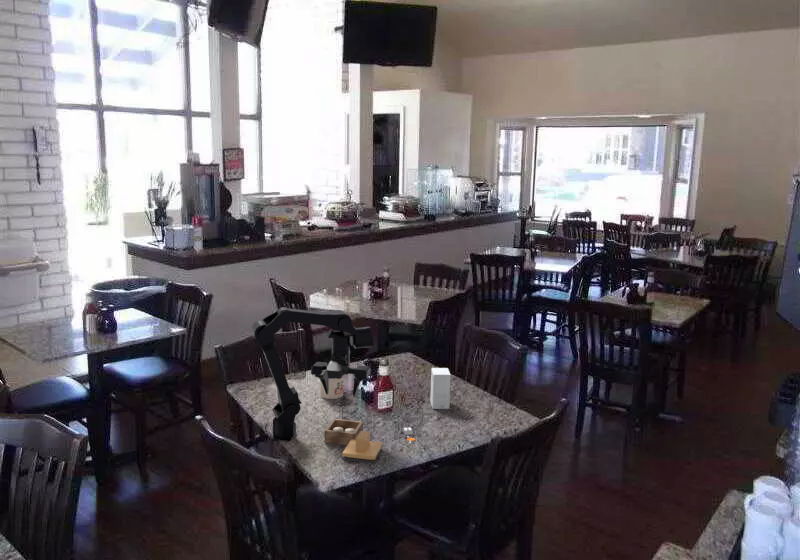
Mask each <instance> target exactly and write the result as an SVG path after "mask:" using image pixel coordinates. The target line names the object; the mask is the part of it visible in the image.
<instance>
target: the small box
mask: <svg viewBox="0 0 800 560" xmlns="http://www.w3.org/2000/svg"><path fill="white" fill-rule="evenodd" d="M430 371H431V372H430V374H431V375H430V376H431V377H430V404H431V409H433V410H449V409H450V405H451V404H450V403H451V399H450V397H451V376H452V374H451V373H450V369H449V368H448V367H431V370H430Z"/></svg>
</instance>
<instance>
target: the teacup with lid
mask: <svg viewBox="0 0 800 560" xmlns="http://www.w3.org/2000/svg"><path fill="white" fill-rule="evenodd" d="M319 380H320V379H319ZM319 385H320V387H319V388H320V389H319V390H320V394H319V396H320V397H321V398H323V399H327V400H337V399H340V398H342V397H343V396H344V375H343V376H342V378H341V379H337V378H329V391H328V394H326V392H325V390H324V387H323V384H322V382H321V380H320V382H319Z"/></svg>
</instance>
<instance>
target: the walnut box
mask: <svg viewBox="0 0 800 560" xmlns="http://www.w3.org/2000/svg"><path fill="white" fill-rule="evenodd" d="M360 431H364V421H360V420H351V419H339V418H333V419H332V421H331V422H330V423H329V424H328V426H327V427H326V428H325V430H324V443H325V444H335V445H343V446H344V445H345V446H347V445H348V444H349V442H350V441H351V439H354V440H356V437H357V436H358V434H359V433H360Z"/></svg>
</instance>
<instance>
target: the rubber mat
mask: <svg viewBox="0 0 800 560" xmlns="http://www.w3.org/2000/svg"><path fill="white" fill-rule="evenodd" d="M382 451H383V448H381V449H380V451H379V453H378V455H377V457H376V459H375V460H373V459H372V460H367V459H358V458H349V457H346V456H342V459H343V460H344V461H352V462H353V461H354V462H362V463H370V464H371V463H372V464H376V463H377V461H378V459H379V457H380V456H381V453H382Z"/></svg>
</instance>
